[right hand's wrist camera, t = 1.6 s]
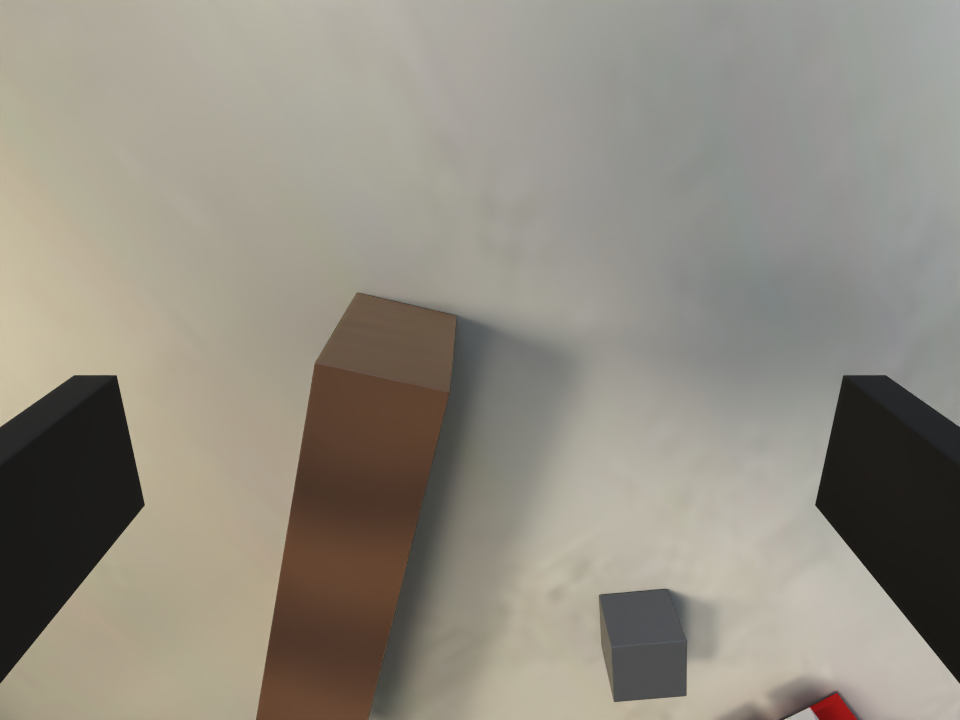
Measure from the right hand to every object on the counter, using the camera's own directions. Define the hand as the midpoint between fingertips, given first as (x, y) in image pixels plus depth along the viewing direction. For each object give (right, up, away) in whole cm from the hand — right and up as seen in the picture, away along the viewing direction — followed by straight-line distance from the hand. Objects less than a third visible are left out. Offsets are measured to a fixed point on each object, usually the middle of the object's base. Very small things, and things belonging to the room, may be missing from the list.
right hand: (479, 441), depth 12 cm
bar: (-7, -8, +25) cm, 27 cm away
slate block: (+9, -14, +28) cm, 32 cm away
